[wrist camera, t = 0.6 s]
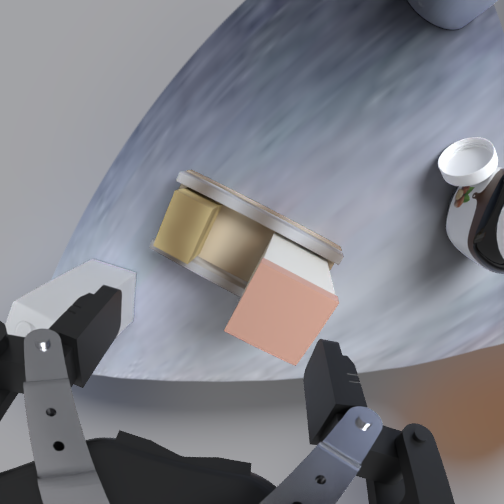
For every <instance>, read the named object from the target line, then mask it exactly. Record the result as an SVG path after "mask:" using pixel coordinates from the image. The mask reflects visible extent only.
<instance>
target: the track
mask: <svg viewBox="0 0 504 504" xmlns="http://www.w3.org/2000/svg"><path fill="white" fill-rule="evenodd" d="M176 181H177V182H179V183H181V185H180V188H179V190H175V192H174V194H173V197H172V199H171V202H170V204H169V206H168V209H167V211H166V214H165V216H164V219H163V221H162V224H161V226H160V229H159V231H158V234H157V237H156V238H154V239H152V241H151V244H150V247H149V248H150V249H152V250H154V251H156V252H158V253H159V254H161V255H163V256H165V257H167V258H168V259H170V260H172V261H174V262H176V263H177V264H179V265H181V266H183V267H185V268H187V269H188V270H190V271H192V272H194V273H196V274H198V275H199V276H201V277H203V278H205V279H207V280H209V281H211V282H212V283H214V284H216V285H218V286H220V287H222V288H224V289H226V290H228V291H229V292H231V293H233V294H235V295H237V296H239V297H241V296H242V294H243V292H244V290H245V288H246V285H247V283H248V281H249V279H250V277H251V275H252V273H253V272H254V270H255V268H256V266H257V264H258V262H259V260H260V258H261V257H262V255H263V253H264V251H265V249H266V247H267V245H268V243H269V241H270V240H271V238H272V236H273V234H274V232H277V233H279V234H281V235H283V236H285V237H286V238H288V239H290V240H292V241H294V242H296V243H298V244H300V245H302V246H303V247H305V248H307V249H309V250H311V251H313V252H315V253H317V254H318V255H320V256H322V257H324V258H326V259H327V262H328V267H329V271H330V270H331V268H332V266H333V265H334V263H336V264H337V265H339V264H340V262H341V260H342V259H343V257H344V256H343V254H342V249H341V247H340V246H338V245H336V244H335V243H333V242H331V241H329V240H327V239H325V238H324V237H322V236H320V235H318V234H316V233H314V232H313V231H311V230H309V229H307V228H305V227H303V226H301V225H300V224H298V223H296V222H294V221H292V220H290V219H288V218H286V217H284V216H282V215H281V214H279V213H277V212H275V211H273V210H271V209H269V208H267V207H265V206H263V205H261V204H259V203H257V202H255V201H254V200H252V199H250V198H248V197H246V196H244V195H242V194H240V193H238V192H236V191H234V190H232V189H230V188H228V187H226V186H224V185H222V184H220V183H218V182H216V181H214V180H212V179H210V178H207V177H205V176H203V175H201V174H199V173H197V172H195V171H193V170H187V171H182V172H179V175H178V177H177V179H176Z"/></svg>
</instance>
